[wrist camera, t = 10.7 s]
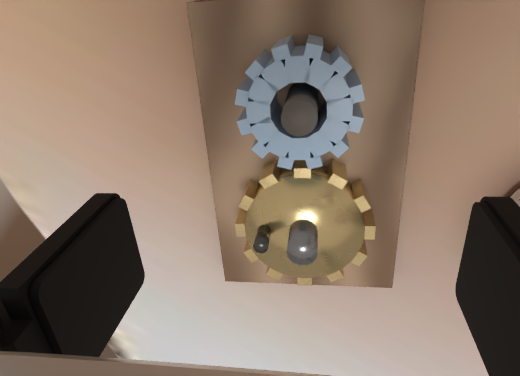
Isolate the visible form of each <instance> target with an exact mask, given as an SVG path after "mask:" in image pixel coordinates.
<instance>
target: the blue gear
mask: <svg viewBox="0 0 520 376" xmlns="http://www.w3.org/2000/svg"><path fill="white" fill-rule="evenodd" d="M271 51H272V54H273V57H272V56H271V55H270V54H269V53H268V52H267V51H266V50H265V49H264V51H263V52H262V53H261V54H260V55H259V56H258V58H257V59H256V60H255V61H254V62H253V63H252V65H251V66H250V67H249V68H248V69H247V71H246V72H245V73H246V74H247V75H248V76H247V77H246V79H245V80H244V81H243V82H242V84H241V85H240V86H239V87H238V89H237V93H236V99H235V105H239V106H244V107H245V108H244V110H243V112H242V113H241V115H240V116H239V118H238V120H237V121H236V122H237V125H238V127H239V130H240V133H241V135H245V134H249V133H253V135H254V136H255V138H256V139H255V141H254V144H253V146H252V149H251V150H253V151H254V152H255V153H256V154H257V155H258V156H260V157H261V158H262V159H263V158H264V157H265V156H266V155H267V154H268V153H269V152H271V153H273V154H275V155H277V156H279V161H278V165H277V167H282V168H286V169H290V170H292V166H293V162H294V160H305V161H306V164H307V167H308V170H309V169H313V168H317V167H321V166H323V154H325V153H327V152H329V151H331V152H332V153H333V154H334V155H335V156H336V157H337V158H339V157H340V156H341V155H342V154H343V153H344V152H345V151H346V150H348V149H349V143H348V138H347V131H351V132H356V133H359V132H360V129H361V126H362V123H363V120H364V116H363V113H362V110H361V107H360V104H359V102H361V101H364V100H365V98H364V93H363V89H362V84H361V82H360V79H359V77H358V75H357V72H356V70H354V71H351V72H349V71H350V70H351V69H352V65H351V63H350V60H349V58H348V55H347V54H346V53H345V52H344V51H343V50H342V49H341V48H340V47H339V46H338V45H337V47H336V48H335V49H334V50H333V51H332V52H331V53H330V54H329V53H327V52H325V51H324V50H323V37H319V36H314V35H310V34H309V35H308V39H307V43H306V45H304V46H295V44H294V41H293V37H292V35H291V36H288V37H285V38H282V39H279V40H278V41H277V42H276V43H275V45H274V46H273V47H272V49H271ZM304 82H306V83H308V84H309V85H311V86H313V87H315V88H317V89H319V90H320V92H321V93H322V95H323V97H324V98H325V100H326V101H325V102H324V104H323V106H322V107H321V109H320V111H318V121H317V125H316V127H315V128H314V130H313V131H312V132H311V133H309V134H307V135H305V136H294V135H291V134H289V133H288V132H287V131H286V130H285V129H284V128H283V126H282V123H281V114H282V111H283V109H282V107H281V106H280V104H279V103H278V101H277V91H278V90H280V89H281V88H283V87H284V86H286V85H288V84H289V83H304Z"/></svg>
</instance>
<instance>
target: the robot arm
mask: <svg viewBox="0 0 520 376" xmlns="http://www.w3.org/2000/svg"><path fill="white" fill-rule="evenodd" d="M143 282H144V269H143V265H142V261H141V257H140V253H139V250H138V246H137V242H136V238H135V234H134V231H133V227H132V223H131V219H130V215H129V211H128V208H127V204H126V201H125V200H124V199H123V198H120V196H119V195H118V194H116V193H97V194H95V195H94V196H92V197H91V198H90V199H89V200H88V201H87V202H86V203H85V204H84V205H83V206H82V207H81V208H80V209H78V210H77V211H76V212H75V213H74V214H73V215H72V216H71V217H70V218H69V219H68V220H67V221H66V222H64V223H63V224H62V225H61V226H60V227H59V228H58V229H57V230H56V231H55V232H54V233H53V234H52V235H50V236H49V237H48V238H47V239H46V240H45V241H44V242H43V243H42V244H41V245H40V246H39V247H38V248H36V249H35V250H34V251H33V252H32V253H31V254H30V255H29V256H28V257H27V258H26V259H25V260H24V261H22V262H21V263H20V264H19V265H18V266H17V267H16V268H15V269H14V270H13V271H12V272H11V273H10V274H9V275H7V276H6V277H5V278H4V279H3V280H2V281H1V282H0V376H329V375H318V374H306V373H294V372H282V371H269V370H257V369H245V368H233V367H220V366H208V365H195V364H183V363H170V362H157V361H143V360H130V359H117V358H103V357H99V356H100V355H101V353H102V351H103V350H104V348H105V346H106V345H107V343H108V341H109V340H110V338H111V336H112V335H113V333H114V331H115V330H116V328H117V326H118V325H119V323H120V321H121V320H122V318H123V316H124V315H125V313H126V311H127V310H128V308H129V306H130V305H131V303H132V301H133V300H134V298H135V296H136V295H137V293H138V291H139V290H140V288H141V286H142V284H143ZM456 297H457V300H458V303H459V305H460V308H461V310H462V312H463V315H464V317H465V319H466V322H467V324H468V327H469V329H470V331H471V334H472V336H473V338H474V341H475V343H476V346H477V348H478V350H479V353H480V355H481V358H482V360H483V362H484V365H485V367H486V369H487V372H488V374H489V376H520V207H519V206H518V204H517V203H516V202H515V201H514V200H513V199H512V198H511V197H483V198H482V199H481V201H480V202H475V203H474V204H473V207H472V211H471V215H470V220H469V225H468V230H467V234H466V239H465V244H464V249H463V253H462V258H461V263H460V268H459V272H458V277H457V282H456Z"/></svg>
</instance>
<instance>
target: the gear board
mask: <svg viewBox="0 0 520 376" xmlns="http://www.w3.org/2000/svg"><path fill="white" fill-rule="evenodd" d="M424 2H425V0H209V1H196V2H187V8H188V15H189V23H190V30H191V37H192V44H193V51H194V59H195V66H196V73H197V80H198V87H199V95H200V102H201V109H202V116H203V124H204V131H205V138H206V145H207V152H208V160H209V167H210V174H211V181H212V188H213V196H214V203H215V210H216V217H217V224H218V232H219V239H220V246H221V253H222V261H223V268H224V275H225V281H235V282H260V283H285V284H297V277H292V276H288V275H285V274H283V275H282V276H281V278H280V279H279V280H277V279H275V278H273V277H271V276H269V275H267V274H266V271H267V265H266V264H264V263H263V262H262V261H261V260H260V259H259V260H257V261H255V262H252V263H251V262H250V260H249V259H248V258H247V257H246V255H245V254H244V253H243V252H244V248H245V245H246V241H247V237H236V228H235V222H236V220H237V217H238V214H239V211H240V207H238V206H239V204H240V201H241V198H242V196H243V193H244V190H245V188H246V186H247V185H248V183H249V181H250V179H252V180H254V181H256V182H258V183H260V182H259V179H260V176H261V173H262V170H263V166H265V165H266V164H268V163H270V162H272V161H273V160H275V159H277V161H279V156H277V155H275V154H273V153H271V152H269V153H268V154H267V155H266V156H265V157H264V158H263V159H262V158H261V157H260V156H258V155H257V154H256V153H255V152H254V151H253V150H251V149H252V146H253V144H254V141H255V139H256V138H255V136H254V135H253V133H249V134H245V135H241V133H240V130H239V127H238V125H237V122H236V121H237V120H238V118H239V116H240V115H241V113H242V112H243V110H244V108H245V107H244V106H239V105H235V99H236V93H237V89H238V87H239V86H240V85H241V84H242V82H243V81H244V80H245V79H246V77H247V76H248V75H247V74H246V73H245V72H246V71H247V69H248V68H249V67H250V66H251V65H252V63H253V62H254V61H255V60H256V59H257V58H258V56H259V55H260V54H261V53H262V52H263V51H264V49H265V50H266V51H267V52H268V53H269V54H270V55H271V56H272V57H273V54H272V51H271V49H272V47H273V46H274V45H275V43H276V42H277V41H278V40H279V39H282V38H285V37H288V36H291V35H292V37H293V41H294V44H295V46H304V45H306V43H307V39H308V35H309V34H310V35H314V36H319V37H323V50H324V51H325V52H327V53H329V54H330V53H331V52H332V51H333V50H334V49H335V48H336V47H337V45H338V46H339V47H340V48H341V49H342V50H343V51H344V52H345V53H346V54H347V55H348V58H349V60H350V63H351V65H352V69H351V70H350V71H349V72H351V71H354V70H356V72H357V75H358V77H359V79H360V82H361V84H362V89H363V93H364V98H365V100H364V101H361V102H359V104H360V107H361V110H362V113H363V116H364V120H363V123H362V126H361V129H360V132H359V133H356V132H351V131H347V138H348V143H349V149H348V150H346V151H345V152H344V153H343V154H342V155H341V156H340V157H339V158H337V157H336V156H335V155H334V154H333V153H332V152H331V151H329V152H327V153H325V154H323V166H326V167H327V166H328V164H329V162H330V161H331V159H334V160H336V161H338V162H340V163H342V164H344V165H346V171H347V179H348V181H349V182H350V183H353V182H355V181H357V180H359V179H361V181H362V183H363V184H364V186H365V188H366V189H367V192H368V196H369V200H370V205H371V208H372V212H373V217H374V221H375V225H376V229H375V240H369V239H365V243H366V249H367V254H368V256H367V258H366V259H365V260H364V261H363V262H362V264H361V265H360V266H357V265H355V264H353V263H351V262H350V263H349V264H347V265H346V266H345V267H343V270H344V277H343V278H341V279H338V280H336V281H333V282H330V280H329V279H328V278H327V276H322V277H316V278H312V285H334V286H359V287H384V288H392V285H393V276H394V267H395V258H396V249H397V241H398V232H399V223H400V214H401V205H402V196H403V188H404V179H405V170H406V161H407V152H408V144H409V135H410V126H411V117H412V108H413V99H414V91H415V82H416V73H417V64H418V55H419V46H420V38H421V29H422V20H423V11H424ZM277 101H278V103H279V104H280V106H281V107H282V109H283V111H282V114H281V123H282V126H283V128H284V129H285V130H286V131H287V132H288V133H289V134H291V135H294V136H305V135H307V134H309V133H311V132H312V131H313V130H314V128H315V127H316V125H317V121H318V111H320V109H321V107H322V106H323V104H324V102H325V101H326V100H325V98H324V97H323V95H322V93H321V92H320V90H319V89H317V88H315V87H313V86H311V85H309V84H308V83H306V82H304V83H289V84H288V85H286V86H284V87H283V88H281V89H280V90H278V91H277ZM293 164H295V160H294V162H293Z"/></svg>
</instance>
